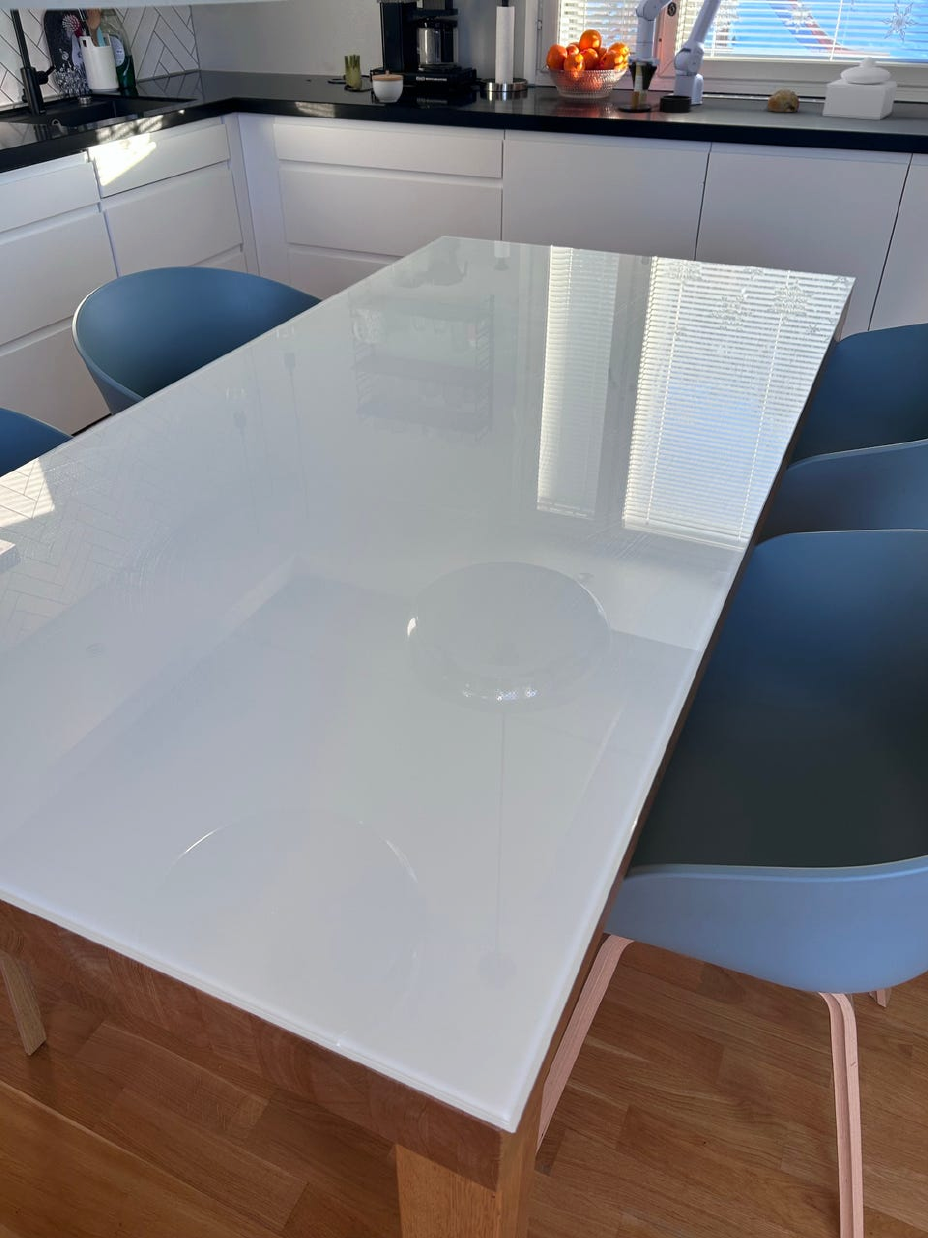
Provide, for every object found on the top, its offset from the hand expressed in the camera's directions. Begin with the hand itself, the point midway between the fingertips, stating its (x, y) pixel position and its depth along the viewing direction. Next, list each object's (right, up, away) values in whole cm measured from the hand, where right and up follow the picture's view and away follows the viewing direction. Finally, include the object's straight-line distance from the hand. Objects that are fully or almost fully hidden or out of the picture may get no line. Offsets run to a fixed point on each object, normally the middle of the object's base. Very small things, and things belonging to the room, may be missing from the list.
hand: (640, 88), depth 320 cm
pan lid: (-3, -10, -7) cm, 13 cm away
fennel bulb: (-102, +23, +42) cm, 112 cm away
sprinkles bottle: (0, -4, +3) cm, 5 cm away
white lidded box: (+66, -17, -16) cm, 70 cm away
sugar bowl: (-87, +4, +16) cm, 88 cm away
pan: (+10, -11, -7) cm, 16 cm away
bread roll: (+45, -12, -8) cm, 47 cm away
